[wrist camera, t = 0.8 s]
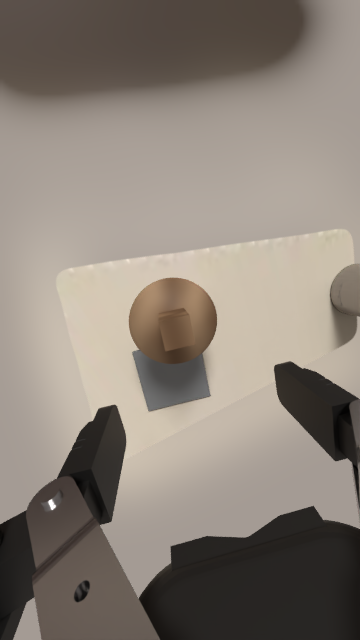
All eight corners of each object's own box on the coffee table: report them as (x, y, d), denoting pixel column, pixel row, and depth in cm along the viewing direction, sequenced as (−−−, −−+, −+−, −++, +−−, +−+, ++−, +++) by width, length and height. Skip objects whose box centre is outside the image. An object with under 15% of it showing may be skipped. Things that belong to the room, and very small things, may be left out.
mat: (198, 336, 39) (198, 336, 39) (209, 394, 42) (210, 395, 41) (132, 351, 38) (132, 352, 38) (148, 409, 41) (148, 411, 41)
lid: (207, 269, 27) (220, 268, 21) (221, 351, 29) (236, 369, 24) (119, 288, 26) (109, 292, 21) (141, 370, 29) (137, 393, 23)
